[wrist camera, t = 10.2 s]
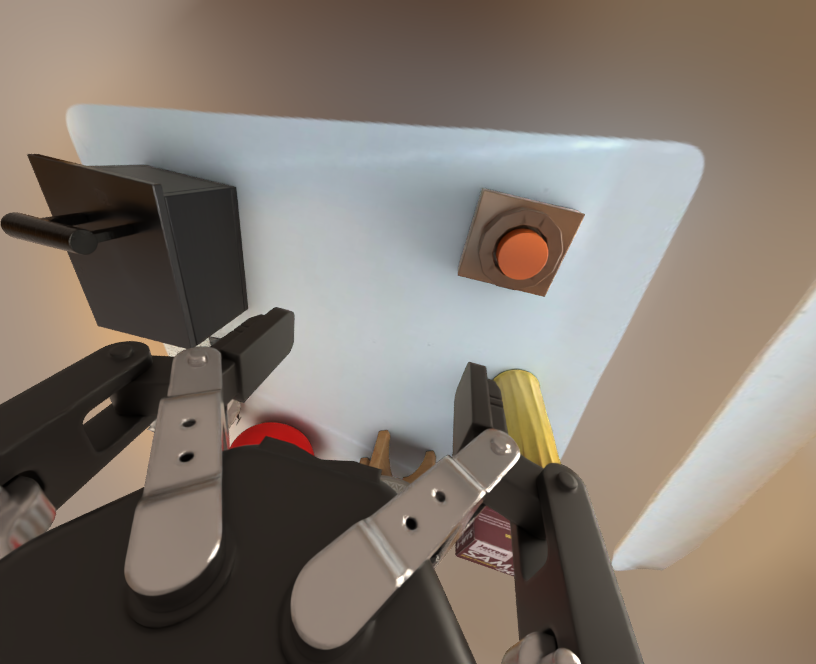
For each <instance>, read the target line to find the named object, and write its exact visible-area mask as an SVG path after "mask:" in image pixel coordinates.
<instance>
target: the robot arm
mask: <svg viewBox="0 0 816 664" xmlns="http://www.w3.org/2000/svg"><path fill="white" fill-rule="evenodd" d="M293 343H294V313H293V312H292V311H289V310H285V309H282V308H278V307H275V308H273V309H272V310H270V311H269V312H268V313H267V314H265V315H262V314H260V315H257V316H254V317H252V318H249V319H248V320H246V321H245V322H243V323H242V324H241V326H238V327H237V328H235V329H234V331H231V332H230V333H228V334H227V335H225V336H224V337H223V338H221V339H220V340H219V341H217V342H216V343H214V344H213V345H212V346H210V347H193V348H189V349H186V350H183V351H181V352H180V353H178V354H177V355H176V356H175V357H171V356H152V355H151V353H150V350H149V347H148V346H147V345H146V344H144V343H141V342H135V341H126V342H119V343H114V344H111V345H108V346H105V347H103V348H101V349H99V350H98V351H96V352H94V353H92V354H90V355H89V356H87V357H85V358H84V359H82V360H80V361H78V362H76V363H74V364H73V365H71V366H69V367H67V368H65V369H63V370H62V371H60V372H58V373H56V374H54V375H53V376H51V377H49V378H47V379H45V380H44V381H42V382H40V383H38V384H37V385H35V386H33V387H31V388H29V389H27V390H26V391H24V392H22V393H20V394H19V395H17V396H15V397H13V398H12V399H9V400H8V401H6V402H4V403H2V404H1V405H0V664H476V661H475V659H474V657H473V654H472V652H471V650H470V648H469V646H468V643H467V641H466V639H465V637H464V634H463V632H462V630H461V628H460V625H459V623H458V621H457V619H456V616H455V614H454V612H453V610H452V608H451V605H450V603H449V601H448V599H447V596H446V594H445V592H444V590H443V587H442V585H441V583H440V581H439V578H438V576H437V574H436V572H435V568H436V566H437V565H438V564H439V563H440V562H441V561H442V559H443V558H444V557H445V556H446V554H447V553H448V552H449V551H450V549H451V548H452V547H453V545H454V544H455V543H456V541H457V540H458V539H459V538H460V536H461V535H462V534H463V533H464V532H465V531H466V529H467V528H468V527H469V526H470V525H471V524H472V522H473V521H474V520H475V519H476V518H477V517H478V515H479V514H480V513H481V512H482V511H483V510H484V508H485V507H486V506H488V507H489V508H491V509H493V510H494V511H496V512H497V513H499V514H500V515H502V516H503V517H505V518H506V519H508V520H510V528H511V541H512V554H513V567H514V579H515V592H516V605H517V618H518V631H519V642H517V643H516V644H515V645H513V646H512V647H510V648H509V649H508V650H507V651H506V653H505V655H504V657H503V659H502V663H501V664H644V662H643V659H642V656H641V653H640V650H639V647H638V643H637V640H636V638H635V634H634V631H633V629H632V625H631V622H630V619H629V616H628V613H627V610H626V607H625V604H624V601H623V598H622V595H621V591H620V589H619V586H618V582H617V579H616V576H615V573H614V570H613V567H612V564H611V561H610V558H609V555H608V552H607V549H606V546H605V543H604V539H603V536H602V533H601V530H600V527H599V524H598V521H597V518H596V515H595V512H594V509H593V506H592V503H591V500H590V497H589V494H588V491H587V488H586V486H585V484H584V482H583V481H582V479H581V478H580V477H579V476H578V475H577V474H576V473H575V472H573V471H572V470H571V469H570V468H568V467H566V466H564V465H562V464H559V463H549V464H547V465H546V466H545V467H544V468H542V467H541V466H539V465H537V464H535V463H534V462H532V461H530V460H528V459H527V458H525V457H524V456H522V455H521V454H520V450H519V447H518V445H517V443H516V442H515V441H514V439H513V438H512V437H510V436H509V435H508V429H507V424H506V418H505V412H504V408H503V407H504V406H503V401H502V394H501V390H500V388H499V386H498V385H497V383H496V382H495V381H494V380H490V379H487V370H486V366H483V365H479V364H475V363H472V362H468V364H467V366H466V368H465V371H464V373H463V375H462V378H461V380H460V383H459V385H458V387H457V390H456V394H455V399H454V424H453V454H452V457H451V456H450V455H446V456H445V457H443V458H442V459H441V460H440V461H438V462H437V463H436V464H435V465H433V466H432V467H431V468H430V469H428V470H427V471H426V472H425V473H423V474H422V475H421V476H420V477H419V478H417V479H416V480H415V481H414V482H412V483H411V484H410V485H409V486H407V487H406V488H405V489H404V490H402V491H401V492H400V493H399V494H397V492H396V491H395V490H394V489H393V488H392V487H390V486H389V485H388V484H387V483H385V482H384V481H382V480H381V479H380V477H381V473H382V469H378V468H375V467H372V466H368V465H365V464H361V463H358V462H354V461H338V460H321V459H319V458H317V457H315V456H313V455H312V454H310V453H308V452H307V451H305V450H304V449H302V448H300V447H299V446H297V445H295V444H293V443H289V442H286V441H283V440H279V439H276V438H272V437H269V436H265V437H264V439H263V440H262V441H261V443H260V444H259V445H258V444H255V445H244V446H238V447H234V448H231V449H230V443H229V421H228V406H227V404H228V403H229V402H230V401H231V400H232V399H233V400H236V401H240V402H243V403H244V402H245V401H246V400H247V399H248V398H249V396H250V395H251V394H252V393H253V392H254V391H255V390H256V389H257V388H258V387H259V386H260V384H261V383H262V382H263V381H264V380H265V379H266V378H267V377H268V376H269V375H270V374H271V372H272V371H273V370H274V369H275V368H276V367H277V366H278V365H279V364H280V363H281V362H282V360H283V359H284V358H285V357H286V356H287V355H288V354H289V353H290V351H291V349H292V346H293ZM109 397H110V399H111V402H112V404H110V405H109V406H108V407H106V408H105V409H104V410H102V411H101V412H100V413H98V414H97V415H96V416H94V417H93V418H92V419H90V420H89V421H87V422H86V423H85V424H84V425H83V420H84V418H85V416H86V415H87V414H88V413H89V411H91V410H92V409H93V408H95V407H96V406H97V405H99V404H100V403H102V402H103V401H104V400H105V399H107V398H109ZM156 419H157V420H156ZM155 420H156V425H155V431H154V437H153V442H152V448H151V453H150V459H149V464H148V470H147V476H146V481H145V487H143V488H141V489H139V490H137V491H135V492H132V493H130V494H128V495H126V496H124V497H121V498H119V499H117V500H115V501H112V502H110V503H108V504H106V505H104V506H102V507H100V508H97V509H95V510H93V511H91V512H89V513H86V514H84V515H82V516H80V517H77V518H75V519H73V520H71V521H69V522H67V523H64V524H62V525H60V526H58V527H56V528H53V529H51V530H49V531H47V530H48V528H49V527H50V526H51V524H52V523H53V521H54V519H55V516H56V510H57V509H58V508H60V507H61V506H62V505H63V504H64V503H65V502H66V501H67V500H68V499H69V498H71V497H72V496H73V495H74V494H75V493H76V492H77V491H78V490H79V489H80V488H82V486H84V485H85V484H86V483H87V482H88V481H89V480H90V479H91V478H92V477H94V476H95V475H96V474H97V473H98V472H99V471H100V470H101V469H102V468H103V467H105V466H106V465H107V464H108V463H109V462H110V461H111V460H112V459H113V458H114V457H115V456H117V455H118V454H119V453H120V452H121V451H122V450H123V449H124V448H125V447H126V446H127V445H129V444H130V443H131V442H132V441H133V440H134V439H135V438H136V437H137V436H138V435H140V434H141V433H142V432H143V431H144V430H145V429H146V428H147V427H148V426H149V425H151V424H152V423H153V422H154V421H155ZM46 531H47V532H46Z"/></svg>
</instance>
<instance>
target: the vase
mask: <svg viewBox="0 0 816 664" xmlns="http://www.w3.org/2000/svg"><path fill="white" fill-rule="evenodd" d="M493 380H494V381H495V382H496V383H497V385H498V386H499V388H500V390H501V394H502V401H503V406H504V407H503V408H504V412H505V418H506V424H507V429H508V435H509V436H510V437H512V438H513V439H514V441H515V442H516V443H517V445H518V447H519V450H520V454H521V455H522V456H524V457H525V458H527V459H528V460H530V461H532V462H534V463H535V464H537V465H539V466H541V467H542V468H544V467H545V466H546V465H547V464H549V463H559V464H561V462H560V459H559V456H558V453H557V449H556V444H555V440H554V436H553V432H552V428H551V425H550V422H549V419H548V416H547V413H546V409H545V405H544V401H543V397H542V394H541V391H540V385H539V382H538V380H537V379H536V377H535V376H534V375H532V374H531V373H529V372H527V371H523V370H508V371H505V372H503V373H501V374H499V375H498V376H496V377H495V378H494V379H493Z"/></svg>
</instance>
